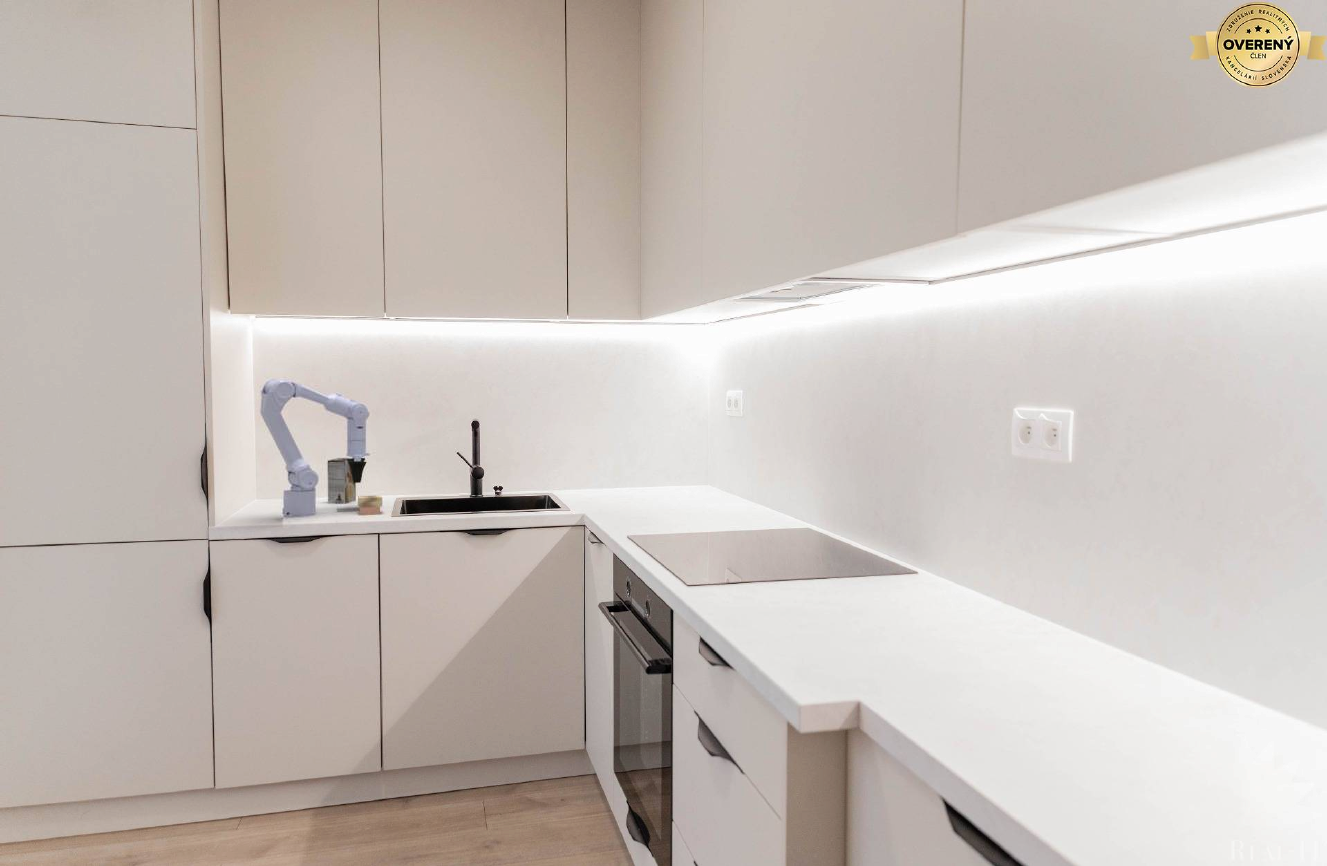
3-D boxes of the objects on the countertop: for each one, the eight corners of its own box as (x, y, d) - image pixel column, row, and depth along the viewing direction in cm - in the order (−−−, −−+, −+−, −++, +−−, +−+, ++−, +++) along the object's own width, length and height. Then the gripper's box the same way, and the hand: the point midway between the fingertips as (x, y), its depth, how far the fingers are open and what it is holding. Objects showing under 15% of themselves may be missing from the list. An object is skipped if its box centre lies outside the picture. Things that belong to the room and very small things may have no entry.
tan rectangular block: (358, 507, 257) (358, 498, 257) (357, 505, 262) (357, 496, 262) (382, 506, 260) (382, 497, 260) (380, 504, 265) (380, 495, 265)
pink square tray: (360, 518, 257) (360, 507, 257) (359, 515, 263) (359, 504, 263) (380, 517, 260) (380, 507, 259) (378, 514, 265) (378, 504, 265)
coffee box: (338, 502, 288) (338, 457, 287) (356, 503, 288) (356, 458, 287) (327, 506, 279) (327, 460, 278) (345, 507, 279) (345, 460, 278)
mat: (337, 515, 262) (337, 511, 262) (336, 512, 269) (336, 508, 268) (367, 514, 266) (367, 510, 266) (365, 511, 272) (365, 507, 272)
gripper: (370, 441, 262) (370, 483, 263) (368, 438, 275) (368, 478, 276) (347, 441, 259) (347, 484, 260) (345, 438, 273) (345, 478, 273)
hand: (356, 481), depth 268 cm, fingers open, 7 cm apart
